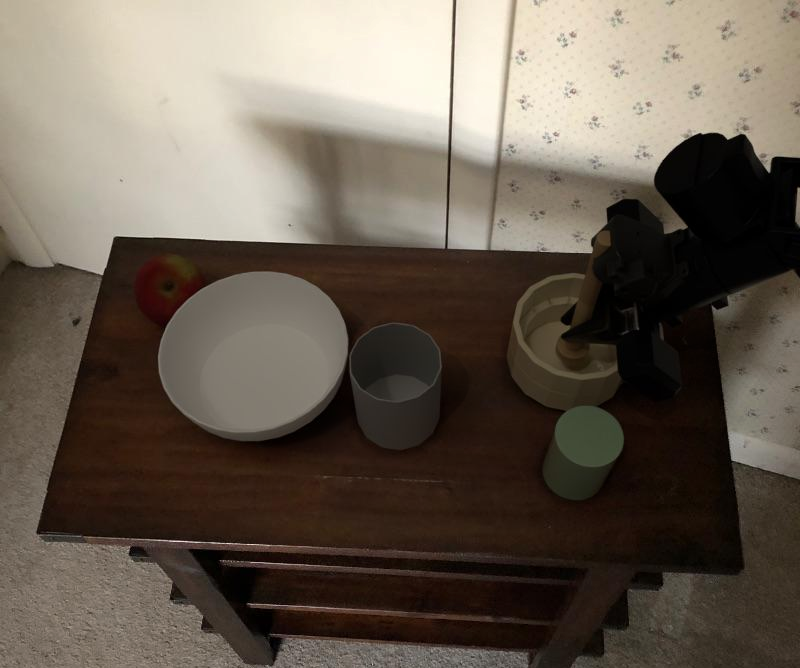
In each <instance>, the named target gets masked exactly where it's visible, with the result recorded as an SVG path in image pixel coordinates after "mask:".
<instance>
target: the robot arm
mask: <svg viewBox="0 0 800 668" xmlns="http://www.w3.org/2000/svg"><path fill="white" fill-rule="evenodd" d="M769 164H770V165H769V170H768V169H767V168H766V167H765V165H764V164H763V162H762V161H761V160H760V158H759V157H758V155H757V154H756V152H755V149H754V145H753V143H752V142H751V140H750V139H749V137H747V135H746V134H745V133H739V134H736V135H735V136H732V137H730V138H727V137H726V136H725V135H724V134H723V133H720V132H707V133H702V132H698V133H696V134H692V136H689V137H688V138H686V139H684V140H683V141H681V142H680V143H678V144H677V145H675V146H674V147H673V149H672V150H670V151H669V152H668V153H667V155H665V157H664V158H663V159H662V160H661V162H660V163H659V165H658V167H657V168H656V171H655V173H654V176H653V186H654V188H655V190H656V192H658V194H659V195H660V196H661V197H662V199H663V200H665V202H666V203H667V204H668V205H669V207H670V208H671V209H672V210H673V211H674V212H675V214H676V215H677V216H678V217H679V219H680V220H681V221H682V222H683V223H684V224H685V226H686V227H685V228H678V229H676V230H674V231H672V232H667V233H665V226H664V222H662V221H661V220H660V219H659V217H657V216H656V215H655V214H654V213H653V212H652V211H651V210H650V209H649V208H648V207H647V206H645V205H644V204H643V203H642V202H641V201H640V200H639V199H638V198H622V199H621V200H618V201H617V202H615V203H613V204H611V205H609V206H608V207H606V208H605V210H606V212H605V213H606V224H605V225H604V226H602V227H601V229H600V230H598V232H596V234H594V236H593V237H591V239H590V247H591V248H593V247H594V244H595V240H596V237H597V235H598V233H600V232H601V231H610V242H611V245H610V247H609V248H608V249H607V250H606V251H605V252H604V253H602V254H601V255H599V256H598V257H596V258H593V265H592V270H593V273H594V275H595V277H596V278H597V279H598V280H599V281H601V282H603V283H602V286H601V289H600V292H599V295H598V298H597V301H596V304H595V307H594V311H593V314H592V317H591V320H589V321H586V322H584V323H582V324H580V325H578V326H575V327H573V328H571V329H569V330H568V331H566V332H565V333H563V334H562V335H561V339H562V340H564V341H565V342H567V343H586V344H606V345H616V353H617V367H618V373H619V375H620V377H621V379H622V380H623V381H624V382H623V383H625V384H626V385H628V386H629V387H631V388H633V389H634V390H636V391H637V392H638V393H640V394H641V395H643V396H644V397H646V398H647V399H648V400H649V401H651V402H653V403H654V404H657V403H660V402H663V401H666V400H669V399H672V398H674V397H676V395H678V394H679V391H680V390H681V389H682V387H683V381H682V372H681V365H680V357H679V351H678V350H676V348H674V347H673V346H671V345H670V344H669V343H667V342H666V341H665V337H664V327H663V325H662V323H666V324H667V325H668V326H669V327H671V328H672V329H674V328H676V327H679V326H681V325H683V324H684V320H683V319H684V318H683V315H685V314H687V313H690V312H692V311H695V310H697V309H700V308H703V307H704V306H707V305H710V306H712V307H713V308H714V309H715V310H716V311H719V310H722V309H725V308H726V307H729V299H728V297H729V296H731V295H734V294H736V293H739V292H742V291H744V290H746V289H749V288H751V287H753V286H756V285H759V284H761V283H764V282H767V281H769V280H771V279H774V278H776V277H779V276H782V275H784V274H786V273H788V272H791V271H793V272H794V273H795V274H796V276H797V277H798V279H800V225H799V223H798V222H797V221H796V217H797V205H798V204H797V203H798V192H799V191H798V190H799V189H800V157H797V156H782V155H781V156H779V155H776V156H773V157H772V158H771V159H770V163H769ZM577 302H578V301H577ZM577 302H576V303H575V304H574V305H573V306H572V307H571V308H570V309H569V310H568V311H567V312H566V313H565V314H564V315H563V316H562V317H561V323H563V324H564V325H566V326H569V325H571V322H572V318H573V315H574V312H575V308H576V305H577ZM632 307H634V308H632ZM629 308H632V309H630V310H625V309H629ZM622 310H625V311H623V312H622Z"/></svg>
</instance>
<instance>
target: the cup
mask: <svg viewBox="0 0 800 668" xmlns="http://www.w3.org/2000/svg"><path fill="white" fill-rule="evenodd" d="M441 355H442V354H441V349H440V347H439V346H438V344H437V343H436V341H435V340H434V338H433V337H432V336H431V334H430V333H428V332H426V331H424V330H422V329H421V328H419V327H417V326H415V325H414V324H407V323H400V322H394V321H393V322H389V323H384V324H381V325H376V326H373V327H372V328H371V329H369V330H368V331H366V332H365V333H364V334H362V335H361V336H360V337H358V338H357V339H356V341H355V343H354V346H353V347H352V349H351V352H350V353H349V354H348V356H349V357H348V358H349V375H350V383H351V389H352V395H353V401H354V407H355V413H356V420H357V424H358V426H359V427H360V429H361V431H362V433H363V434H364V436H365V438H366V439H367V440H369V441H371V442H373V444H375V445H377V446H379V447H380V448H383V449H390V450H396V451H403V450H407V449H410V448H414V447H418V446H420V445H422V443H424V442H425V441H426V440H428V438H429V437H431V436H432V435H433V434H434V432H435V429H436V427H437V425H438V423H439V420H440V417H441V416H440V414H441V391H442V373H443V366H442V356H441Z"/></svg>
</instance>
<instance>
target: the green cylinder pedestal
mask: <svg viewBox="0 0 800 668" xmlns="http://www.w3.org/2000/svg"><path fill="white" fill-rule="evenodd" d="M624 445H625V436H624V431H623V429H622V426H621V424H620V423H619V421H618V420H617V419H616V418H615V416H613V415H612V414H611V413H610V412H608V411H607V410H605V409H603V408H600V407H599V406H596V407H594V406H578V407H574V408H572V409H570V410H568V411H565V412H564V413H562V415H561V416H560V417H559V418H558V420H557V422H556V424H555V427H554V430H553V433H552V435H551V438H550V440H549V444H548V447H547V450H546V452H545V456H544V459H543V462H542V467H541V469H542V470H541V471H542V476H543V479H544V482H545V484H546V485H547V487H548V488H549V489H550V491H552V492H553V493H554V494H555V495H557V496H559V497H561V498H563V499H566V500H569V501H583V500H587V499H589V498H592V497H594V496H595V495H597V493H598V492H599V491H600V490H601V489H602V487H603V485H604V483H605V482H606V479H607V478H608V476H609V475H610V472H611V470H612V469H613V467H614V465H615V463H616V462H617V460H618V458H619V456H620V455H621V453H622V451H623V448H624Z"/></svg>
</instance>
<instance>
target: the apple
mask: <svg viewBox="0 0 800 668" xmlns="http://www.w3.org/2000/svg"><path fill="white" fill-rule="evenodd" d="M206 286H208V282H207V278H206V276H205V274H204V272H203V271H202V269H201V268H200V267H199V266H198V265H197V264H196V263H194V261H192V260H190V259H189V258H186V257H184V256H181V255H179V254H174V253H161V254H158V255H156V256H153V257H152V258H150V259H148V260H146V261H145V262H144V263H143V264H142V266H140V268H139V269H138V271H137V273H136V276H135V279H134V286H133V287H134V289H133V290H134V299H135V303H136V304H137V307H138V309H139V310H140V311H141V313H142V314H143V315H144V316H145V317H146V318H147V319H148V320H150V321H151V322H152V323H154V324H155V325H157V326H159V327H160V328H165V329H166V327H167V325H168V323H169V322H170V320H171V319H172V317H173V316H174V314H175V313H176V311H177V310H178V309H179V308H180V307H181V306H182V305H183V304H184V303H185V302H186V301H187V300H188V299H189V298H190V297H192V296H193V295H194V294H196V293H197V292H198V291H200V290H201V289H203V288H205V287H206Z"/></svg>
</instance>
